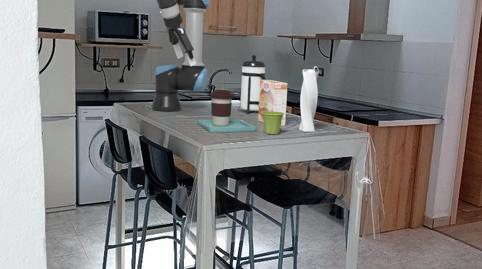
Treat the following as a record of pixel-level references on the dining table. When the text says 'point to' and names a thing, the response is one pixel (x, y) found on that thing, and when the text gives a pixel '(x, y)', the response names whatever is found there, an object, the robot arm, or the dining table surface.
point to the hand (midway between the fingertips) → (186, 61)
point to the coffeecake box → (272, 98)
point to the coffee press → (251, 84)
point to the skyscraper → (308, 100)
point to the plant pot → (272, 121)
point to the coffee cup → (221, 107)
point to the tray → (232, 127)
